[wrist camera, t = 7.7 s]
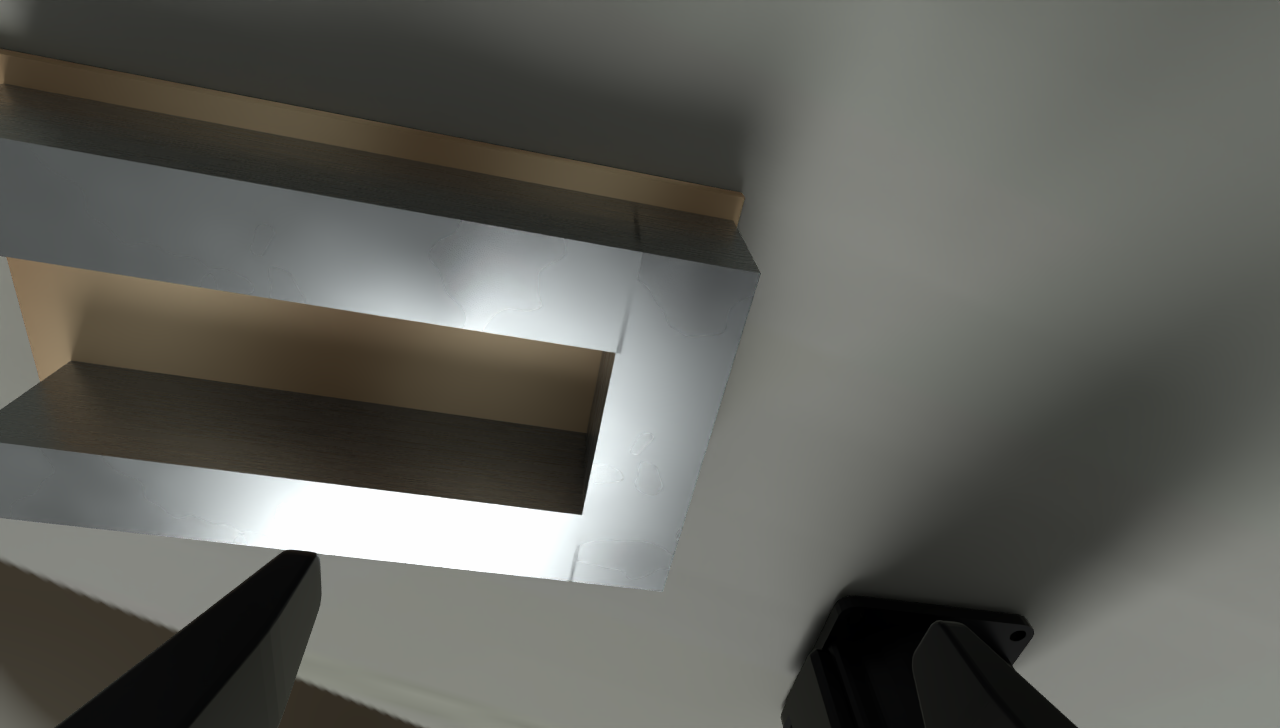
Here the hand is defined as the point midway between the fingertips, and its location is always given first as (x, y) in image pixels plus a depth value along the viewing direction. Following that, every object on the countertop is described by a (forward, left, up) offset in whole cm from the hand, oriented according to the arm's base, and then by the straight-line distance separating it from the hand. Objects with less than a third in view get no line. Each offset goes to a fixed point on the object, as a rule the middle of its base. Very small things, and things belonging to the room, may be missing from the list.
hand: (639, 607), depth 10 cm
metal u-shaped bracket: (+6, 0, -7) cm, 9 cm away
